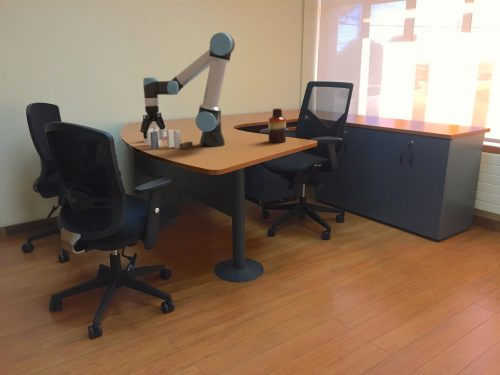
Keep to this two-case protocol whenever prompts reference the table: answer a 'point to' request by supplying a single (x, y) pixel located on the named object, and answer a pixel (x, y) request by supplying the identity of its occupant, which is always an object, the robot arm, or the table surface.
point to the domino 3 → (154, 140)
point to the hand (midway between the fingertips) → (154, 142)
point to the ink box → (155, 126)
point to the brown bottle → (277, 127)
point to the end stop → (186, 145)
